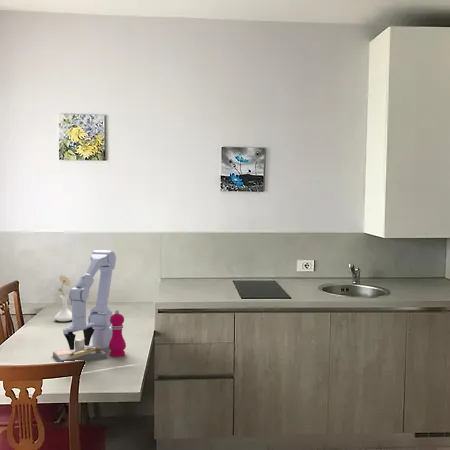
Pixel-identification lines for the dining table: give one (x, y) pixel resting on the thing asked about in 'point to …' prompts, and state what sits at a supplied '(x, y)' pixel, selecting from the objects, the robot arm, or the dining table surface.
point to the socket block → (63, 356)
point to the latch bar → (84, 352)
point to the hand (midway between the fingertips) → (79, 347)
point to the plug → (78, 346)
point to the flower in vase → (64, 302)
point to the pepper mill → (117, 335)
